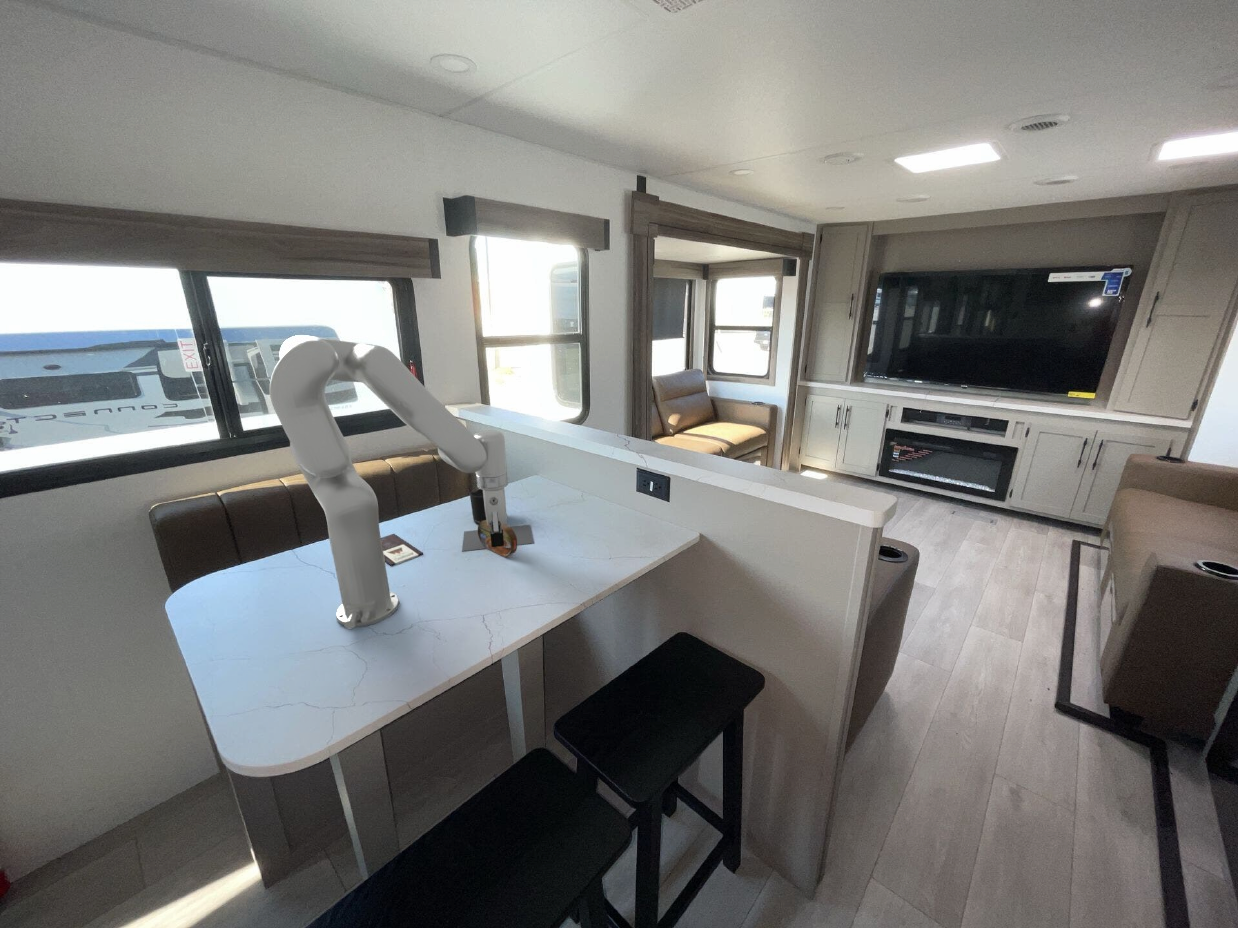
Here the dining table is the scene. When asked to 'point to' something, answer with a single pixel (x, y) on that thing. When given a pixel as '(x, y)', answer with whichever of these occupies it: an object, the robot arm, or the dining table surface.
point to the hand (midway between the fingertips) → (497, 545)
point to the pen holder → (478, 506)
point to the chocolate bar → (398, 550)
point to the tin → (508, 536)
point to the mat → (474, 543)
